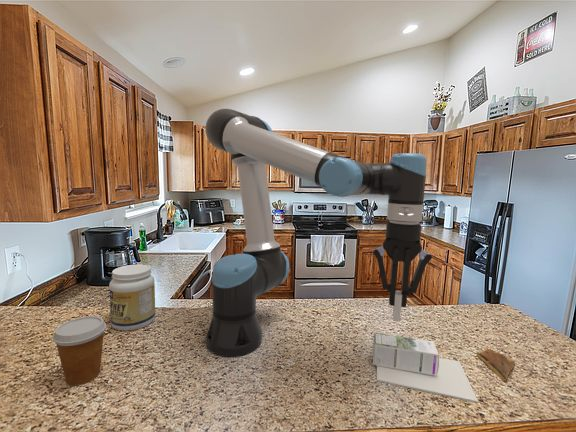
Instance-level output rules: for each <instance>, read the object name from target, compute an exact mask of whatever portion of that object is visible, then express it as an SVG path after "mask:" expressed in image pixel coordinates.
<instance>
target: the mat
mask: <svg viewBox="0 0 576 432" xmlns="http://www.w3.org/2000/svg"><path fill="white" fill-rule="evenodd" d="M376 381H377V382H379V383H384V384H389V385H393V386H397V387H402V388H407V389H411V390H416V391H420V392H425V393H429V394H430V393H431V394H434V395H440V396H444V397H449V398H453V399H457V400H463V401H466V402H471V403H476V404H478V403H479V400H478V398H477V396H476V394H475V391H474V389H473V388H472V386H471V383H470V381H469V378H468V377H467V374H466V373H465V370H464V368H463V366H462V364H461V361H460V360H454V359H450V358H449V359H448V358H443V357H439V369H438V374H437V376H434V375H428V374H423V373H417V372H412V371H406V370H400V369H394V368H389V367H383V366H377V365H376Z"/></svg>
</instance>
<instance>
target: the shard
mask: <svg viewBox="0 0 576 432" xmlns="http://www.w3.org/2000/svg"><path fill="white" fill-rule="evenodd" d="M476 357H477V358H479V359H480V360H481V361H483V362H484V364H486V365H487V367H488V368H489V369H490V370H491V371H492V372H493V373H494V374H495V375H496V376H497V377H499V379H501V380H502V381H503V382H506V380H507V378H508V376H509V373H511V372H512V369H513V368H514V366H515V364H516V361H515V360H514V359H512V358H511V357H510V356H507V355H505V354H503V353H501V352H499V351H498V352H497V351H495V350H493V349H490V348H484V350H482V351H480V352H477V353H476Z"/></svg>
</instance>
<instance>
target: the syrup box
mask: <svg viewBox="0 0 576 432" xmlns="http://www.w3.org/2000/svg"><path fill="white" fill-rule="evenodd" d="M439 358H440V354H439V352H438V350H437V347H436V345H435V341H433V340H432V341H431V340H426V339H419V338H412V337H404V336H398V335H392V334H385V333H380V332H379V333H377V332H374V333H373V339H372V365H373V366H376V367H377V366H383V367H389V368H394V369H400V370H406V371H412V372H417V373H423V374H428V375H434V376H437V374H438V369H439Z"/></svg>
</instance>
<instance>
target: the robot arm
mask: <svg viewBox="0 0 576 432" xmlns="http://www.w3.org/2000/svg"><path fill="white" fill-rule="evenodd" d="M204 131H205V135H206V138H207V140H208V142H209V143H210V144H211V145H212V146H213V147H214V148H216V149H217V150H219V151H223V152H227V153H229V154H230V157H231V163H232V164H234V165H235V166H236V167H237V172H238V180H239V189H240V195H241V196H240V197H241V204H242V212H243V213H242V214H243V220H244V228H245V236H246V245H245V247H244V248H242V252H243V253H236V254H229V255H225V256H223V257H221V258H219V259H218V260H216V262H214V265H213V267H212V277H211V282H212V317H211V321H210V323H209V326H208V330H207V333H206V336H205V337H206V339H205V341H206V342H205V343H206V348H207V349H208V351H210V352H211V353H213V354H215V355H216V356H221V357H229V358H230V357H231V358H232V357H240V356H244V355H247V354H250V353H252V352H253V351H255V350H257V349H258V348H259V346H260V345H261V344H262V341H263V339H262V338H263V337H262V336H263V335H262V334H263V333H262V328H261V325H260V322H259V319H258V315H257V311H256V310H257V309H256V308H257V298H258V297H259V296H261V295H263V294H265V293H267V292H269V291H271V290H274V289H276V288H277V287H279V286H280V285H281V284H283V283H284V282H285V281H286V280H287V277H289V272H290V268H291V267H290V262H289V261H290V260H289V257H288V256H287V255H286V254H285V252H283V251H282V249H281V244H280V243H279V242H277V241H276V240H275V239H276V238H275V232H274V224H273V217H272V216H273V215H272V209H271V208H272V206H271V200H270V193H269V192H270V191H269V183H268V175H267V168H266V165H267V166H270V167H273V168H274V169H275V168H276V169H278V170H279V171H282V172H285V173H288V174H289V175H292V176H295V177H297V178H300V179H302V180H304V181H307V182H309V183H311V184H314V185H316V186H318V187H321V188H322V189H323V190H324V191H325V192H326V193H327V194H329V195H330V196H331V195H332V196H336V197H340V198H342V197H343V198H344V197H348V196H356V195H373V196H378V195H379V196H387V198H388V200H387V201H388V202H387V212H386V213H387V214H386V218H387V220H388V221H387V222H386V228H385V239H384V241H383V242H382V245H380V246H379V247H375V248H373V250H372V251H373V252H372V253H373V255H374V256H375V259H377V264H378V270H379V271H378V272H379V276H380V282H381V285H382V290H384V291H388V292H389V297H388V302H389V306H393V307H392V308H393V309H392V320H393V322H399V323H400V322H401V315H402V314H401V313H402V308H406V307H407V303H408V302H407V299H408V296H409V295H410V294H416V293H417V290H418V288H419V285H420V282H421V279H422V278H423V274H424V272H425V268H426V266H427V264H428V263H429V262H430V261H431V260H432V258H433V256H432V255H431V254H430V253H429V252H427V251H425V250H424V249H423V247H422V245H421V236H422V235H421V233H422V225H421V222H422V221H423V212H424V210H423V209H424V201H425V200H424V199H425V189H426V188H425V187H426V179H427V158H426V156H425V155H424V154H423V153H417V152H416V153H415V152H414V153H413V152H407V153H406V152H405V153H404V152H402V153H394V154H392V156H391V158H390V161H389V162H384V163H377V162H374V163H373V162H371V163H369V162H367V163H365V162H361V161H358V160H353V159H350V158H347V157H345V156H342V155H340V154H339V155H338V154H335V153H332V152H330V151H327V150H324V149H321V148H319V147H316V146H312V145H309V144H306V143H304V142H301V141H299V140H296V139H292V138H290V137H287V136H284V135H282V134H279V133H276V132H274V131H273V129H272V127H271V126H270V125H269V123H268V122H267V121H265V120H263V119H261V118H260V117H259V116H254V115H249V114H247V113H244V112H240V111H237V110H235V109H231V108H220V109H218V110H215V111H213V113H211V114H210V115H209V117H208V118H207V120H206V123H205V130H204ZM384 252H385V253H386V254H387V255H388V257H389V258H390V260H391V270H390V283H388V279H387V274H386V269H385V264H384V263H385V262H384V259H383V257H384V255H385V253H384ZM417 256H418V258H419V259H418V262H417V265H416V268H415V270H414V274H413V276H412V278H411V281H410V268H411V262H412V261H413V260H414V259H415V258H416V257H417ZM399 262H402V274H401V276H402V277H401V287H400V289H401V290H397V280H398V279H397V278H398V269H399ZM409 281H410V283H409Z"/></svg>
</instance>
